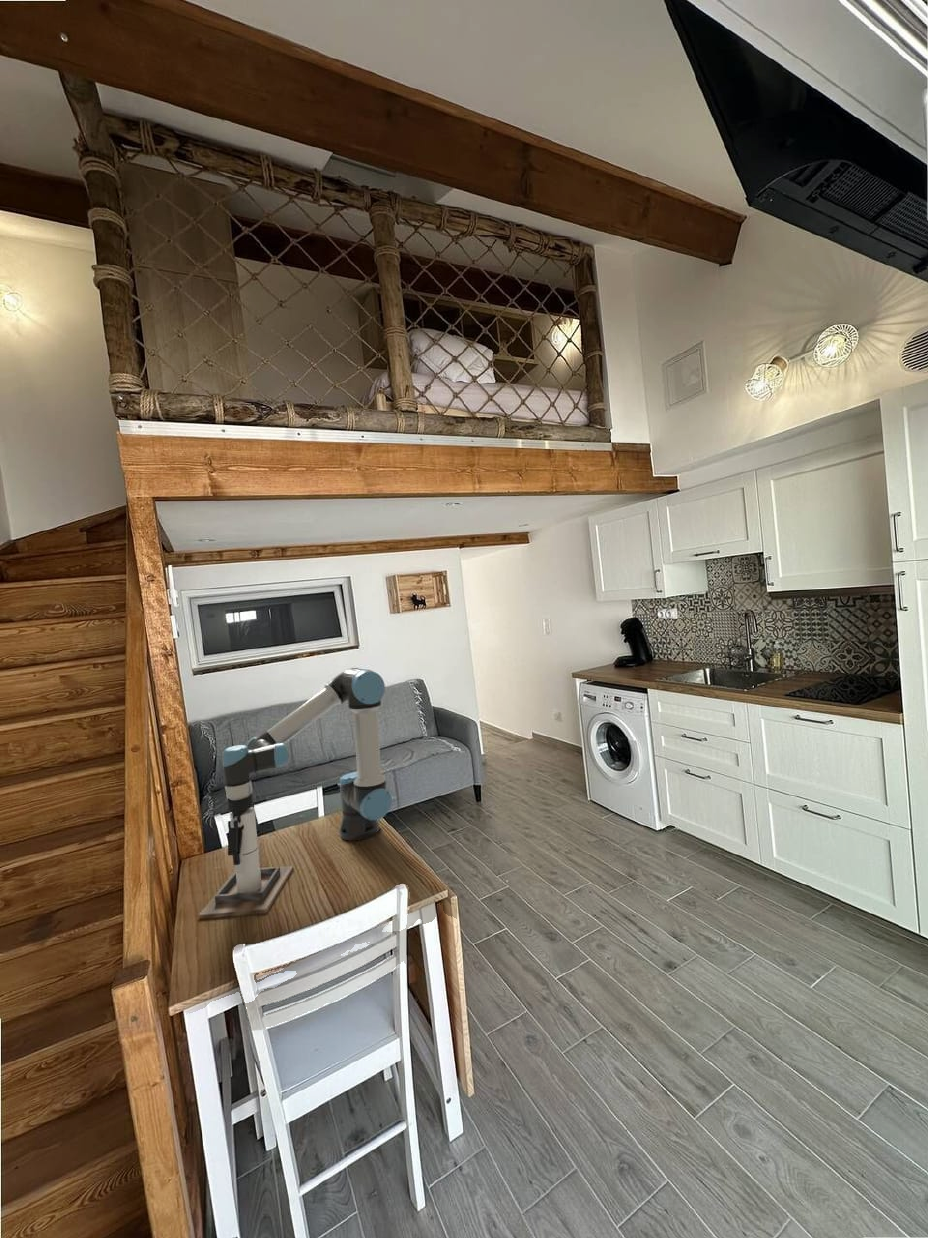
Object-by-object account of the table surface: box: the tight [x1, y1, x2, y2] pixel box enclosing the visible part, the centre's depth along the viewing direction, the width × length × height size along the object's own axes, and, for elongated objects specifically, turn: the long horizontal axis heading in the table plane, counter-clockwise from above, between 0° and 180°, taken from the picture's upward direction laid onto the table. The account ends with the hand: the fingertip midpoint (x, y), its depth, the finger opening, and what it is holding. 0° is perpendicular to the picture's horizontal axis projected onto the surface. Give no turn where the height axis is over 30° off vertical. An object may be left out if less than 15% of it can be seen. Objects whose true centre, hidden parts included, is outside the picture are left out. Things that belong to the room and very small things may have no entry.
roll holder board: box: [198, 865, 294, 920], centre depth 160 cm, size 20×24×4 cm
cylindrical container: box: [229, 806, 262, 893], centre depth 160 cm, size 7×7×25 cm
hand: (246, 863), depth 160 cm, fingers open, 10 cm apart
